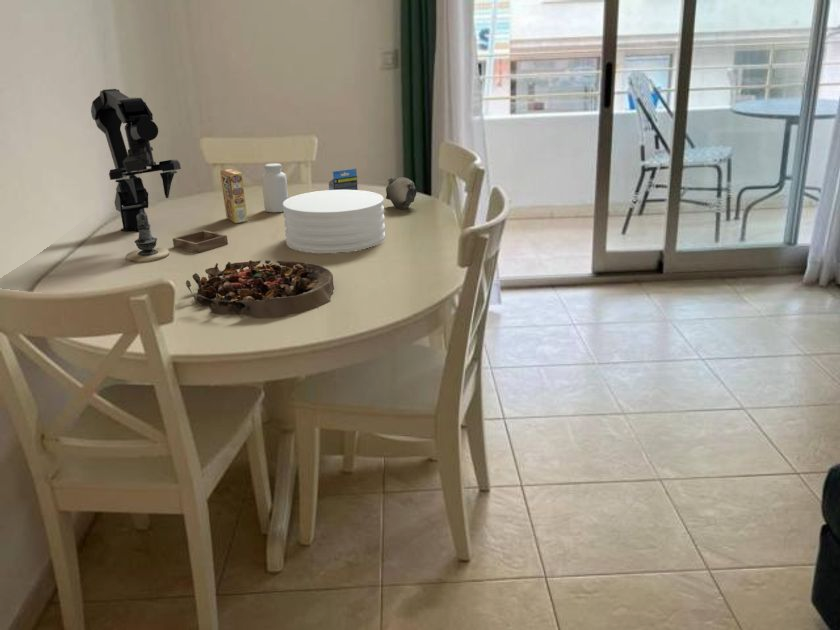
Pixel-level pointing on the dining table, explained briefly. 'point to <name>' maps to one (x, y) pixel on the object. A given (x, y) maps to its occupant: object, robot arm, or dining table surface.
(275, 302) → the food dish
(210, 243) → the bin frame
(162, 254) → the coaster
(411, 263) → the dining table surface
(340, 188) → the label tape box
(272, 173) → the pill bottle
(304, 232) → the plate stack
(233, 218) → the candy box
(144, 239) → the grey tall carved piece
